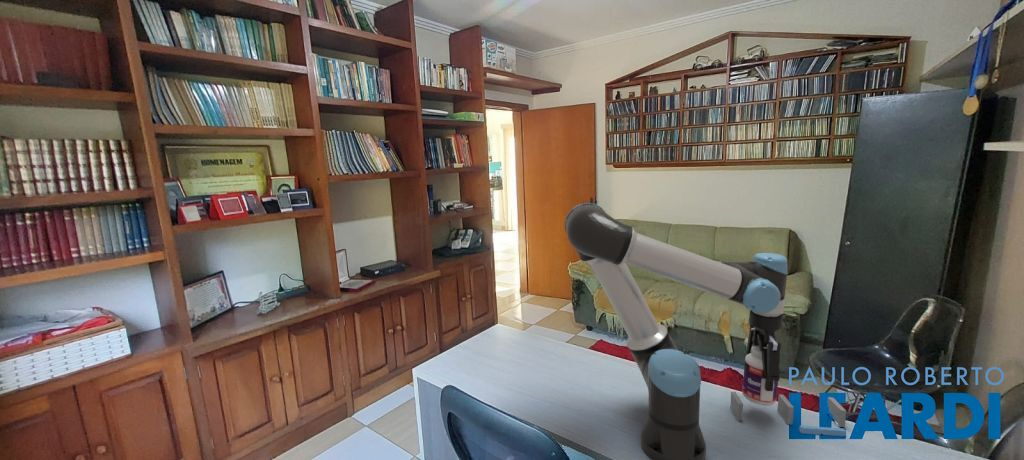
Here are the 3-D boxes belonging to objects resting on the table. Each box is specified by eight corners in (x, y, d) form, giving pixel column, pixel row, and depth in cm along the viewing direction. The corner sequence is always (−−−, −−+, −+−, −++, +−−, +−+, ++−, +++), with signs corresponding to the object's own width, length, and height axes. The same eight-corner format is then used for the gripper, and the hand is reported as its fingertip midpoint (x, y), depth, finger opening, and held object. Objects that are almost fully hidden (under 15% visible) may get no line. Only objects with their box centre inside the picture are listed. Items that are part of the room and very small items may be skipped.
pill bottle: (742, 402, 110) (746, 352, 108) (741, 388, 117) (745, 340, 115) (777, 410, 106) (782, 359, 104) (774, 395, 113) (779, 346, 111)
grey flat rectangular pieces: (853, 437, 103) (854, 419, 102) (742, 429, 108) (743, 411, 107) (831, 414, 112) (832, 397, 111) (730, 407, 117) (731, 391, 116)
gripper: (801, 328, 97) (793, 415, 101) (765, 299, 117) (759, 372, 121) (767, 326, 98) (759, 412, 102) (737, 298, 118) (731, 371, 122)
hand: (759, 391), depth 111 cm, fingers closed on pill bottle, 8 cm apart
